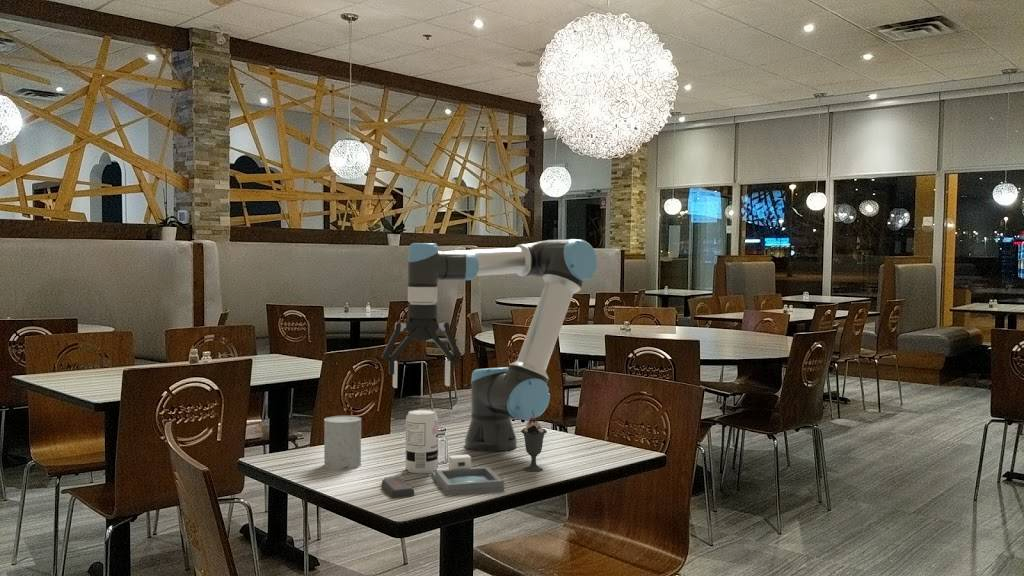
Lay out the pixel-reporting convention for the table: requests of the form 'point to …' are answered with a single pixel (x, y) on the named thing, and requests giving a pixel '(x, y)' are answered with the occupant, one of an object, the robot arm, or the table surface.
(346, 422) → the gray cylinder
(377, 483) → the table surface
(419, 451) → the supplement can
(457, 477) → the charging dock
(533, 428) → the sundae
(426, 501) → the table surface
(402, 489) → the dark grey rounded block
